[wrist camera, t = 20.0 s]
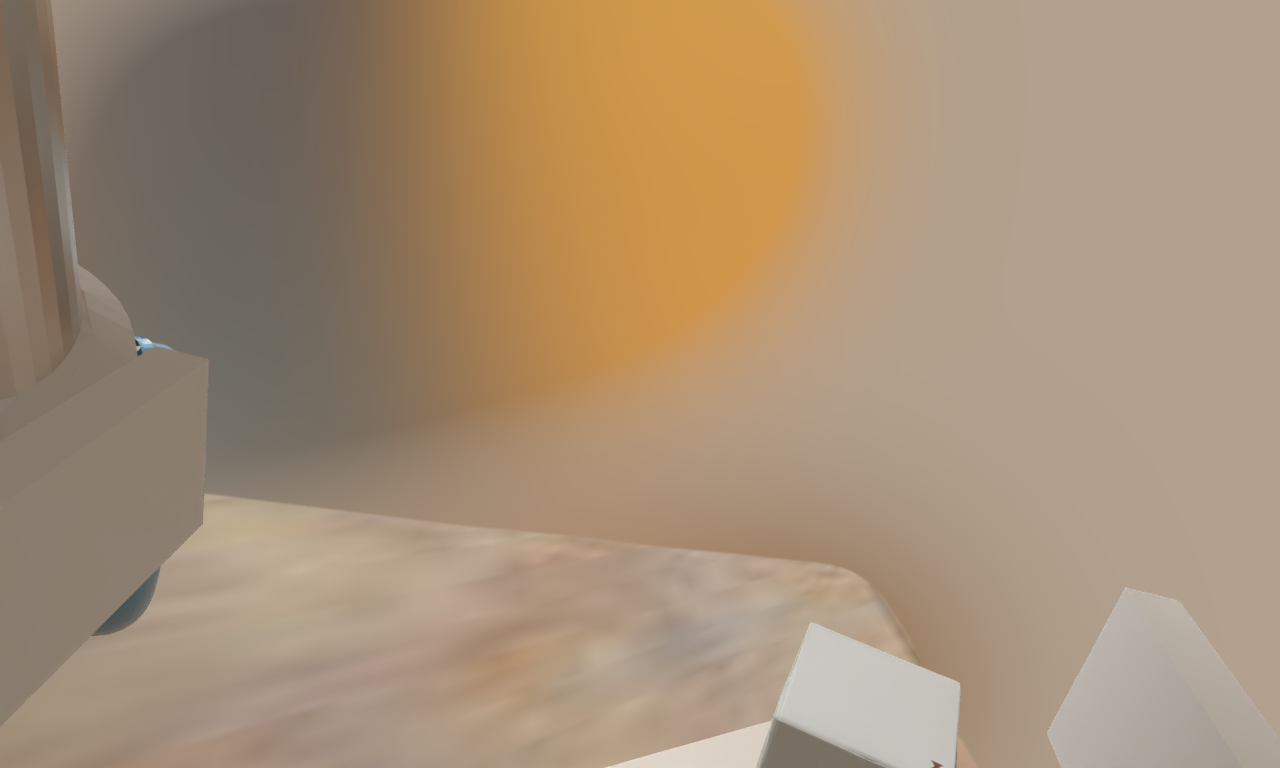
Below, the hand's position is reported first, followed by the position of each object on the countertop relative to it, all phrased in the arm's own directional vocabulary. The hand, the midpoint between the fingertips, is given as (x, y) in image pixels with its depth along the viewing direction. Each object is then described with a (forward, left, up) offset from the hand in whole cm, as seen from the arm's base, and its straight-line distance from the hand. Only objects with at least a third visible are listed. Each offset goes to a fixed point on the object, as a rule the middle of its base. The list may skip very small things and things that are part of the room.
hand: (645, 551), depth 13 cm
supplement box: (-9, +22, -30) cm, 39 cm away
